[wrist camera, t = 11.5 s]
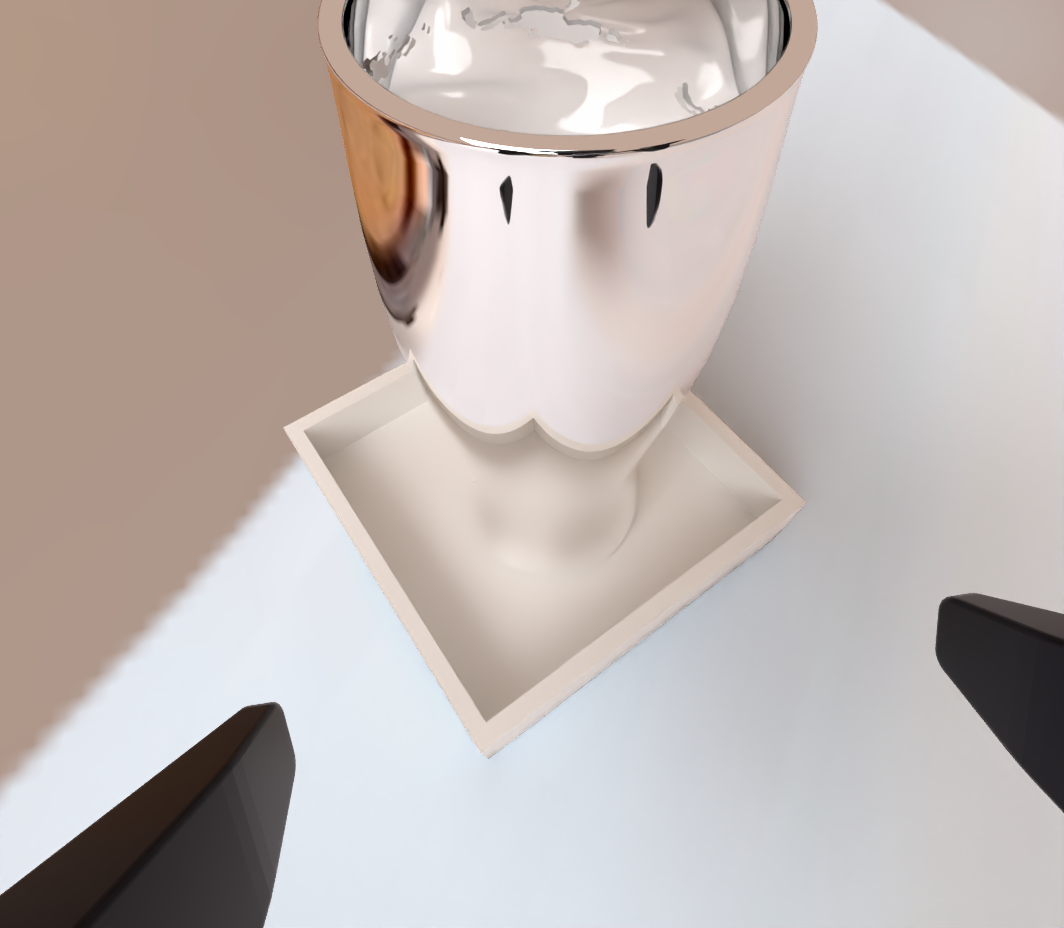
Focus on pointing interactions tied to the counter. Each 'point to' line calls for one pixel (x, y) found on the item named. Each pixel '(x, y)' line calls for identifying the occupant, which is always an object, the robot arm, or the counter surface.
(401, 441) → the tray
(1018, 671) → the robot arm
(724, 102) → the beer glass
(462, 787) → the counter surface
